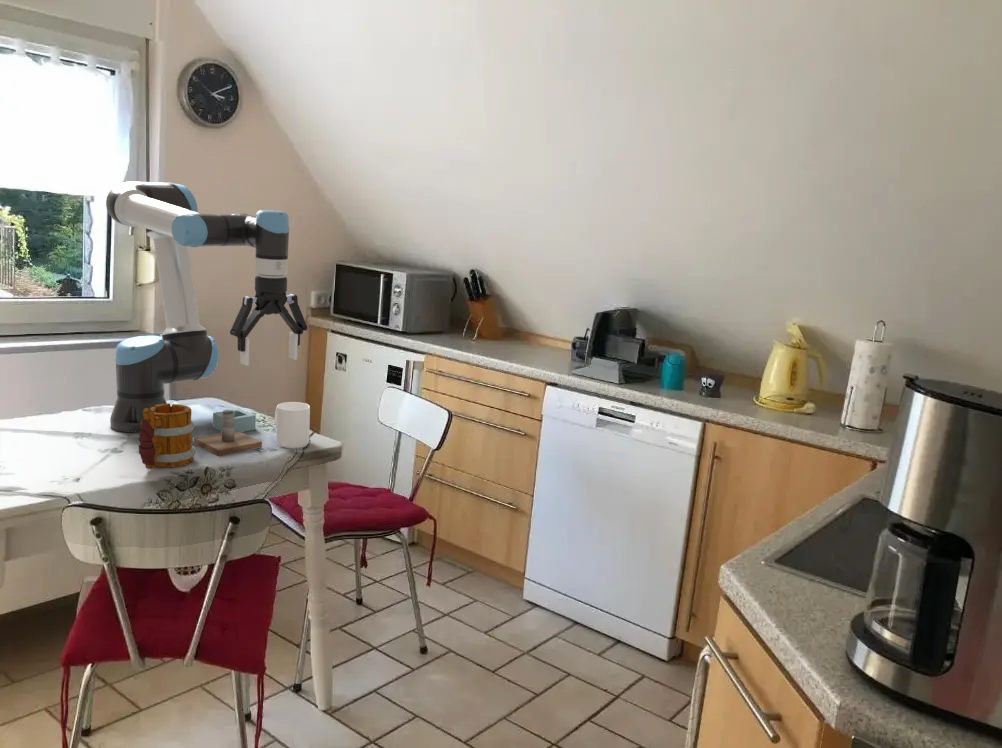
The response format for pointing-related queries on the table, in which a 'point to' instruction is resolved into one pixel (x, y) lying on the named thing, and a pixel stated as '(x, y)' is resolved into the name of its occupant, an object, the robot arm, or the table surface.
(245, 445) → the post block
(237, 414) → the ring
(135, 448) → the table surface
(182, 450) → the mug
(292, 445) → the cup
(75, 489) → the table surface
